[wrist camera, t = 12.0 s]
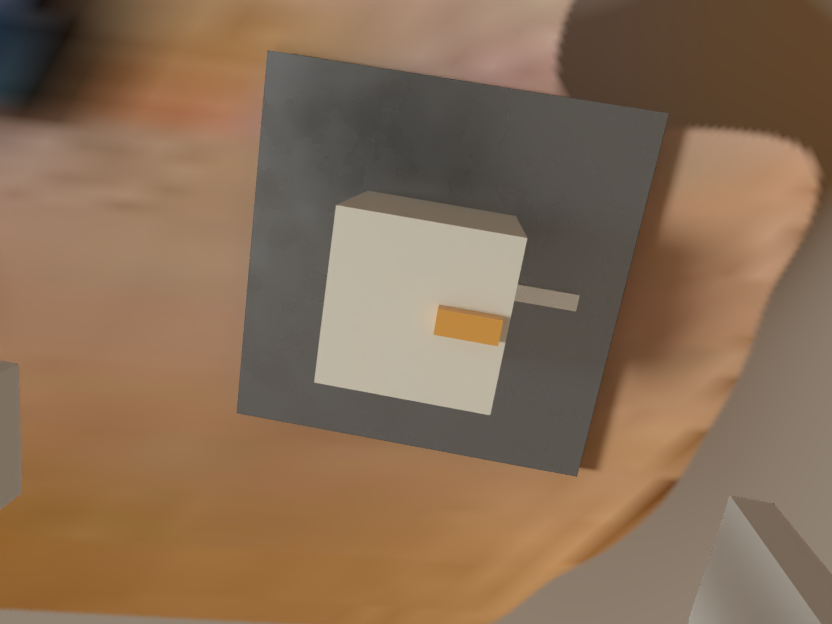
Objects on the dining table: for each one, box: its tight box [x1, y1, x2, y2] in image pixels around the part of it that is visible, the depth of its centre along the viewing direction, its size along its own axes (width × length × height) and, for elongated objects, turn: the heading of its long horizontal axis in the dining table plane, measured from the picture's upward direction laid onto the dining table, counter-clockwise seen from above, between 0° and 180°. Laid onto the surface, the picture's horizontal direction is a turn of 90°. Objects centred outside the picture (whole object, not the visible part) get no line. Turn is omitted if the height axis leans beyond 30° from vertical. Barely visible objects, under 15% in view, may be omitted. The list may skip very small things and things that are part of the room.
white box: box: [314, 191, 527, 415], centre depth 27 cm, size 7×7×8 cm
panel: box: [237, 50, 669, 477], centre depth 29 cm, size 18×18×6 cm
